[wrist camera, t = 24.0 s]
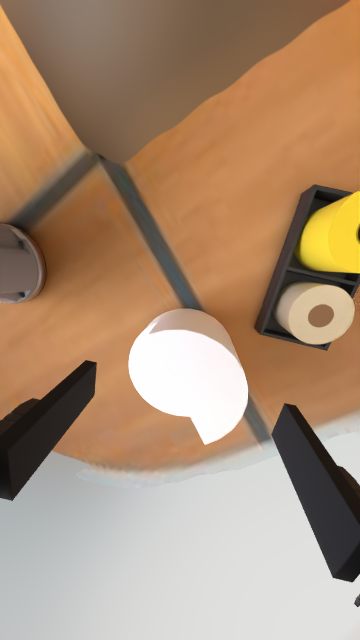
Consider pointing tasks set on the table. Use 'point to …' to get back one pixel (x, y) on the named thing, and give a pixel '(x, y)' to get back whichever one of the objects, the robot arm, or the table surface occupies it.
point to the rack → (295, 271)
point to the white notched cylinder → (190, 371)
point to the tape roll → (332, 237)
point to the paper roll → (314, 311)
